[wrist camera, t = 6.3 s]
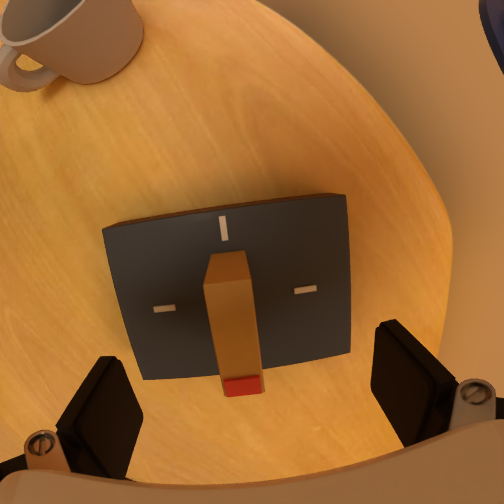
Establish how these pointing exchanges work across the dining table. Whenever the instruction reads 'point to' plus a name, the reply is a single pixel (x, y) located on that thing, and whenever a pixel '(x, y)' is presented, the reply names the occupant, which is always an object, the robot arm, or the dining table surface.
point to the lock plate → (262, 276)
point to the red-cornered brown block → (233, 323)
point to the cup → (67, 40)
